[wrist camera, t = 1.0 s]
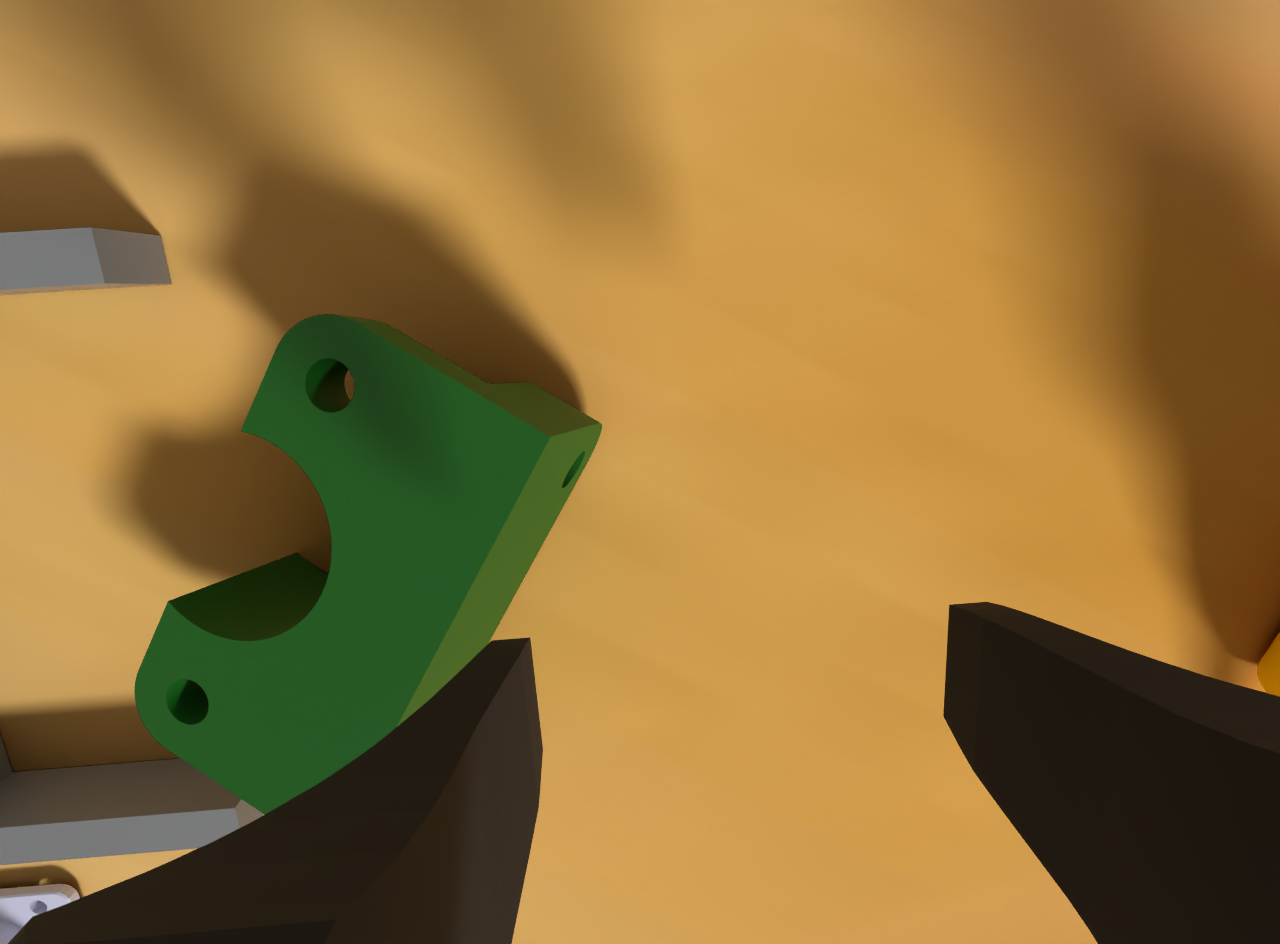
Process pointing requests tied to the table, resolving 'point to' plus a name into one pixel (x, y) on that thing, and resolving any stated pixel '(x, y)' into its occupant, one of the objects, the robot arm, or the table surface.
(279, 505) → the table surface
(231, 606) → the clamp
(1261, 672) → the figure statuette
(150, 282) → the tool bay
